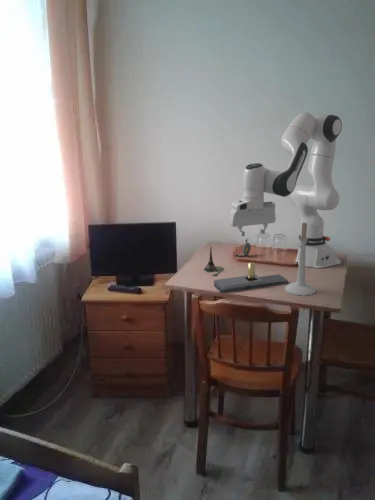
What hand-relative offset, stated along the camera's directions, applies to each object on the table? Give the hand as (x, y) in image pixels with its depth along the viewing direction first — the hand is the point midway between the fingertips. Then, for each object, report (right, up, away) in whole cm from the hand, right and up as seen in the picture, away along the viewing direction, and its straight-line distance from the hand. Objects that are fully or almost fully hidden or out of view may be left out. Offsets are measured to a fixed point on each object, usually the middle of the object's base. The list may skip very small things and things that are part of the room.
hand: (252, 234), depth 193 cm
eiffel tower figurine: (-16, -17, +26) cm, 35 cm away
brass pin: (0, -22, +7) cm, 23 cm away
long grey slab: (0, -22, +7) cm, 23 cm away
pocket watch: (+1, -10, +46) cm, 47 cm away
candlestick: (+21, -24, 0) cm, 32 cm away
